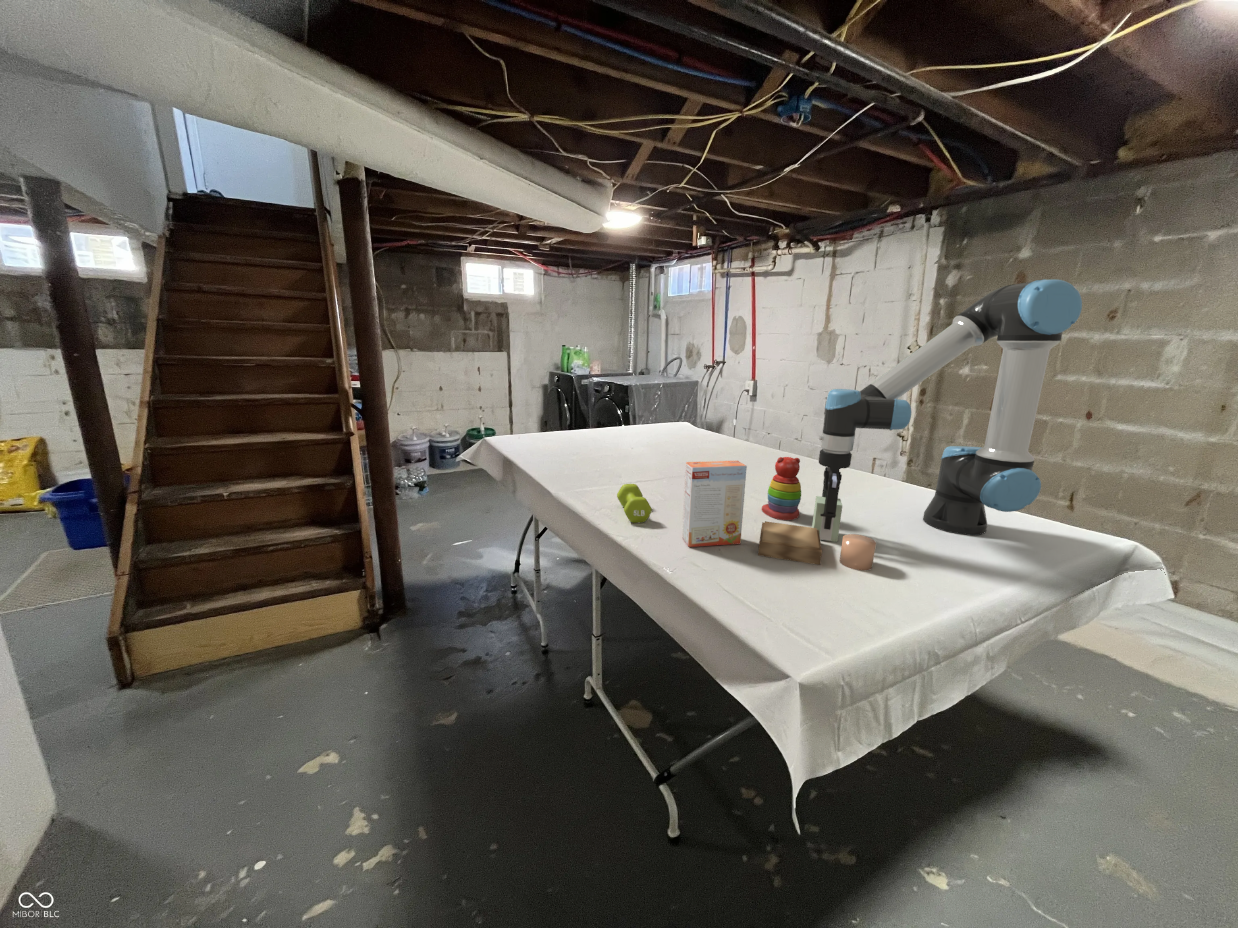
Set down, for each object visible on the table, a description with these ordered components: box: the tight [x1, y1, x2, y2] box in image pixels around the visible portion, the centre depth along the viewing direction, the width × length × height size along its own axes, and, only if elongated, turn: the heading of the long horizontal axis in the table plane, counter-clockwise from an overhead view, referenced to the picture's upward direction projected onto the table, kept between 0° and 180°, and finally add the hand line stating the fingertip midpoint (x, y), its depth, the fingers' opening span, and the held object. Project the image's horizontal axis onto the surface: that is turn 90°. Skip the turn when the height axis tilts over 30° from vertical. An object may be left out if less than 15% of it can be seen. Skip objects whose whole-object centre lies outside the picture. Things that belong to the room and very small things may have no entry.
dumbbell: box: [616, 483, 653, 524], centre depth 142 cm, size 16×8×7 cm, turn 8°
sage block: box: [811, 495, 843, 543], centre depth 128 cm, size 6×6×10 cm
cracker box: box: [682, 460, 748, 548], centre depth 122 cm, size 14×6×21 cm, turn 100°
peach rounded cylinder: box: [838, 533, 877, 572], centre depth 113 cm, size 7×7×6 cm
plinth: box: [757, 521, 823, 566], centre depth 121 cm, size 14×14×4 cm
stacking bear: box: [761, 456, 802, 521], centre depth 142 cm, size 11×10×18 cm
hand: (824, 534), depth 129 cm, fingers closed on sage block, 6 cm apart
